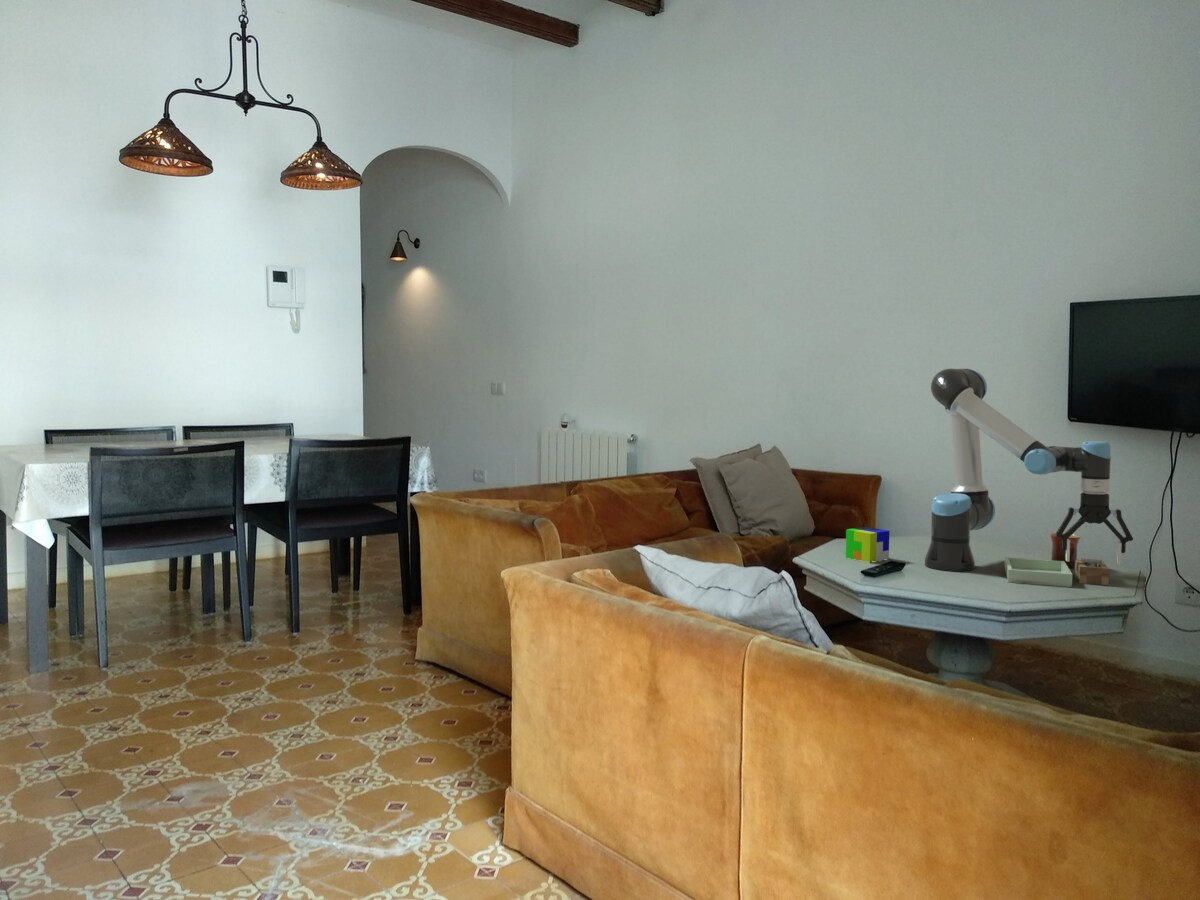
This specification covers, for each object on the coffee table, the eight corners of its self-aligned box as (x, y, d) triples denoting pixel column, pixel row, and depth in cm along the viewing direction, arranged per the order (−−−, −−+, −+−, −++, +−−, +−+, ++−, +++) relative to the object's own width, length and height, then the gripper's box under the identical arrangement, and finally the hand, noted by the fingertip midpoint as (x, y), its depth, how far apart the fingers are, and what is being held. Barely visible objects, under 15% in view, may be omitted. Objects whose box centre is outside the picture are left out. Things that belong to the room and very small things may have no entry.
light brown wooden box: (1108, 585, 257) (1109, 568, 256) (1079, 583, 260) (1080, 566, 259) (1102, 577, 267) (1103, 561, 267) (1074, 575, 270) (1075, 559, 269)
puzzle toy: (888, 559, 294) (889, 530, 293) (869, 563, 288) (870, 533, 288) (864, 555, 302) (865, 526, 301) (845, 558, 297) (846, 529, 296)
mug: (1045, 563, 289) (1046, 532, 288) (1073, 564, 287) (1075, 533, 286) (1056, 570, 277) (1057, 538, 276) (1086, 571, 275) (1087, 539, 274)
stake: (1081, 580, 263) (1082, 558, 263) (1080, 578, 265) (1081, 557, 265) (1101, 581, 261) (1102, 560, 261) (1100, 580, 263) (1101, 558, 263)
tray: (1008, 582, 261) (1008, 569, 261) (1004, 568, 279) (1004, 557, 279) (1071, 587, 255) (1072, 574, 254) (1063, 573, 273) (1064, 561, 273)
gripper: (1049, 492, 262) (1048, 561, 264) (1145, 495, 253) (1143, 567, 254) (1047, 489, 269) (1045, 557, 271) (1140, 492, 260) (1138, 562, 261)
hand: (1092, 562), depth 263 cm, fingers open, 13 cm apart
